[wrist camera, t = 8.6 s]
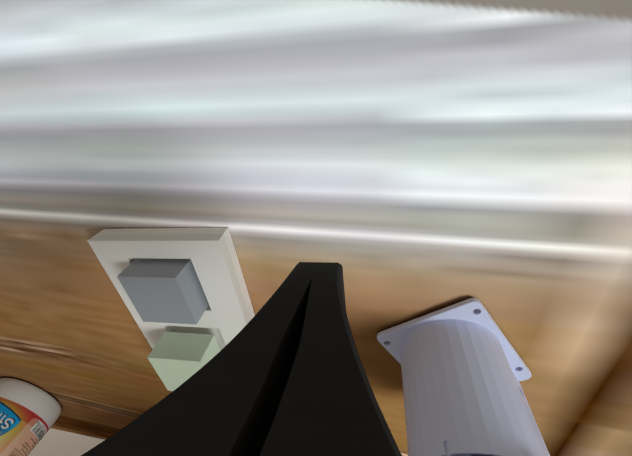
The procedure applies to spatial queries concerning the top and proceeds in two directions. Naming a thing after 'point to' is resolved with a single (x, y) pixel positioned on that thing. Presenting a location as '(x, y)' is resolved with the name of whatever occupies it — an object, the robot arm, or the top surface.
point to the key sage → (181, 356)
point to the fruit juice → (24, 416)
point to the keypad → (209, 263)
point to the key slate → (164, 290)
